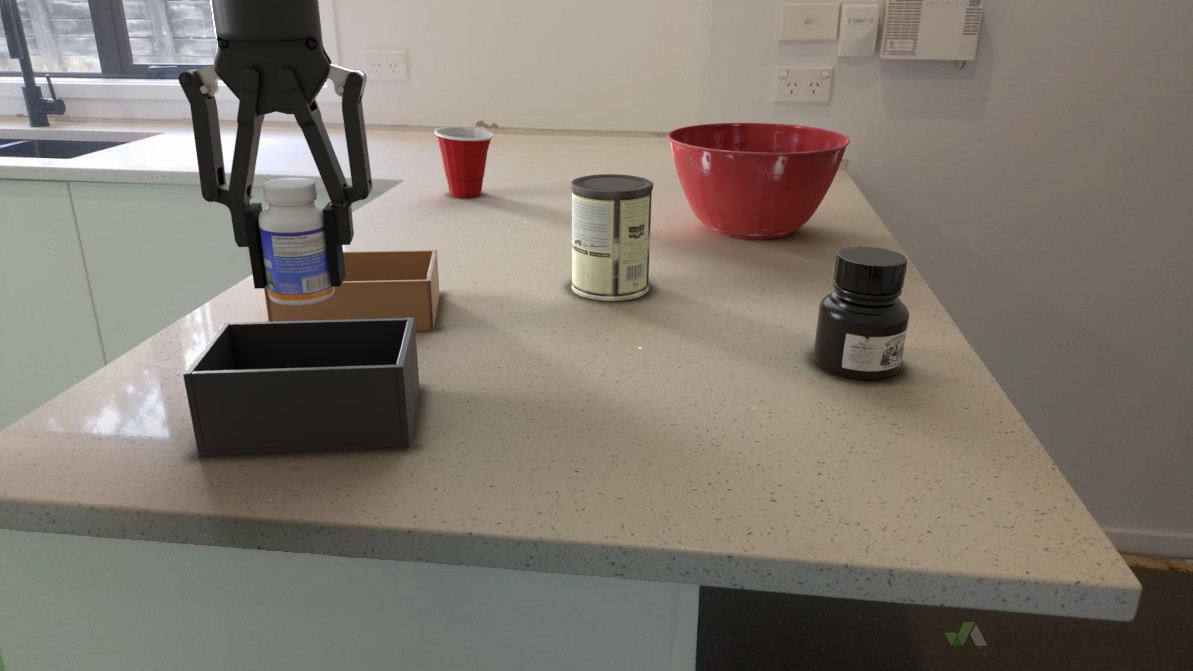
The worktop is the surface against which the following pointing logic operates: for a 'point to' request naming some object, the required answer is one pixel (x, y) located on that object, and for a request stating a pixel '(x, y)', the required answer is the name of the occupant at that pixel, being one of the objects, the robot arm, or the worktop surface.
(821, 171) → the mixing bowl
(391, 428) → the open box
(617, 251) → the coffee can
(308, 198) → the pill bottle
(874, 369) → the ink bottle
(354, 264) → the carton
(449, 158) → the plastic cup
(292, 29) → the robot arm
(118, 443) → the worktop surface
